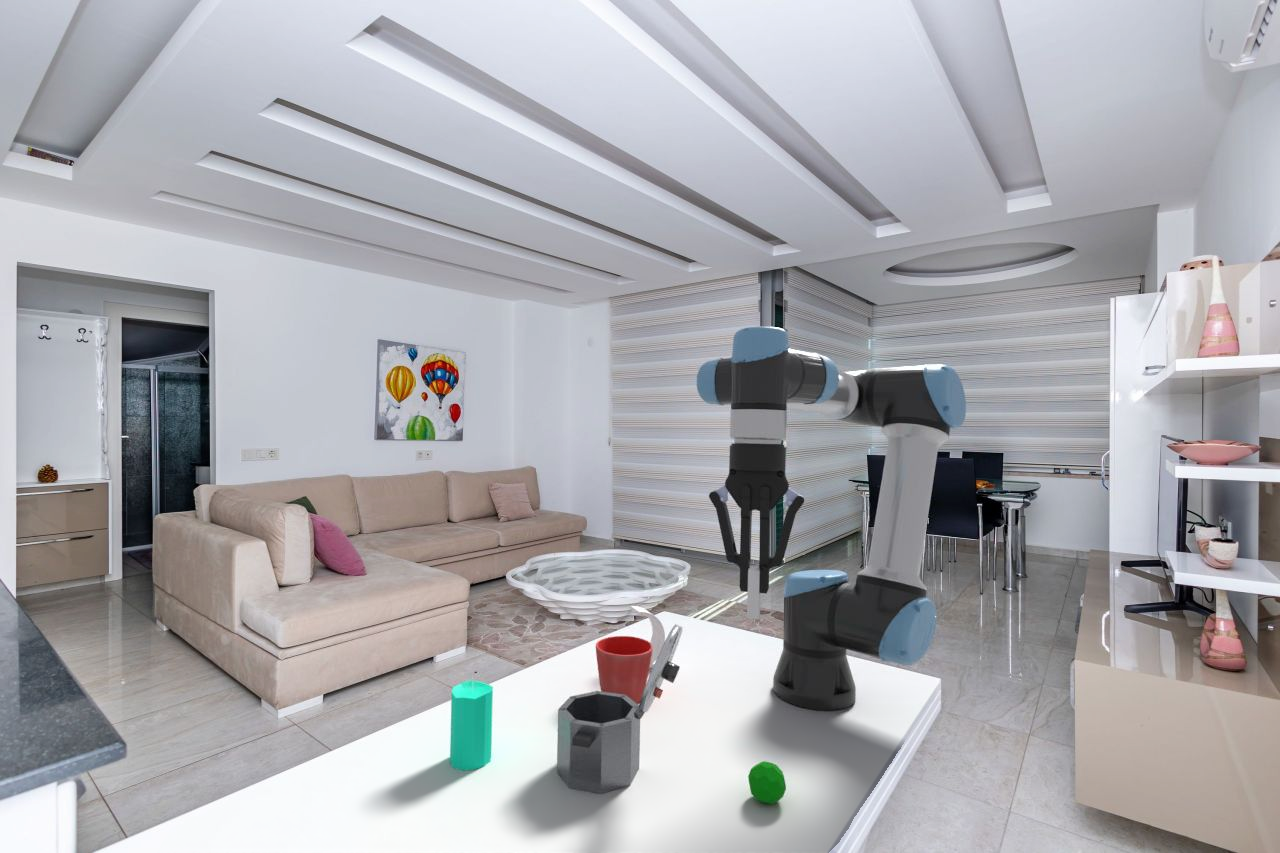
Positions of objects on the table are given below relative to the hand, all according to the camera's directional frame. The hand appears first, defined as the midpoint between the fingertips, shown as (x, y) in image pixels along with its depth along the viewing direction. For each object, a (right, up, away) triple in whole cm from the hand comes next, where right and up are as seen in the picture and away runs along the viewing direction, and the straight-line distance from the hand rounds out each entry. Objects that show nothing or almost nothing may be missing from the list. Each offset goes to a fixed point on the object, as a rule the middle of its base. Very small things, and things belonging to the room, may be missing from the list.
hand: (753, 616), depth 85 cm
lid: (-13, -8, +4) cm, 16 cm away
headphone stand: (-14, -25, +47) cm, 55 cm away
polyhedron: (+2, -25, -1) cm, 25 cm away
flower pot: (-19, -25, +31) cm, 44 cm away
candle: (-41, -24, +8) cm, 48 cm away
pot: (-21, -24, +6) cm, 33 cm away
